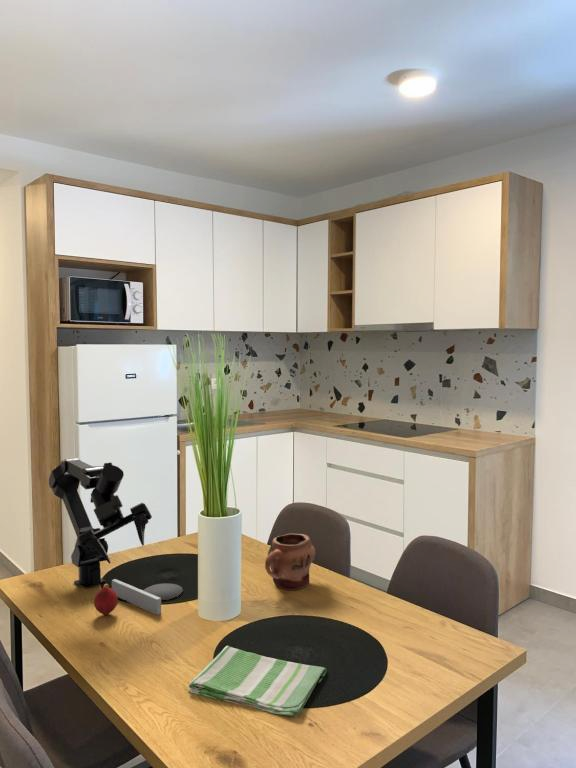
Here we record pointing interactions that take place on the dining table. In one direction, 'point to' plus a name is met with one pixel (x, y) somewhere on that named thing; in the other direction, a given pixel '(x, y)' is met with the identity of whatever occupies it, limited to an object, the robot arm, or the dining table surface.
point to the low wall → (137, 596)
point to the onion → (105, 600)
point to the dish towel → (257, 681)
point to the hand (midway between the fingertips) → (126, 553)
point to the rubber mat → (165, 590)
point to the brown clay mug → (290, 560)
